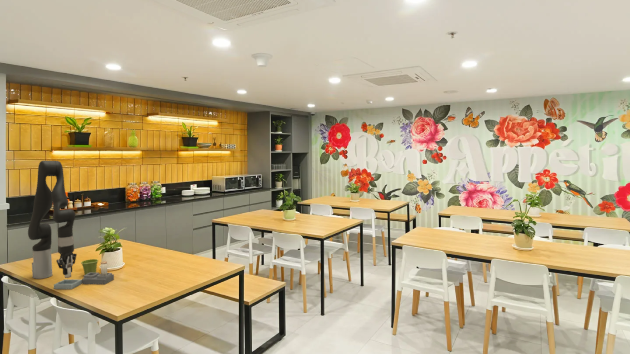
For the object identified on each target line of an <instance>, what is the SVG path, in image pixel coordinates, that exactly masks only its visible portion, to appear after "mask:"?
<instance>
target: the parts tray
mask: <svg viewBox="0 0 630 354" xmlns="http://www.w3.org/2000/svg"><path fill="white" fill-rule="evenodd" d="M81 285H83V284H82V279H69V278H64V279H63V280H61V281H57V283H54V284H53V290H73V289H75V288H77V287H79V286H81Z"/></svg>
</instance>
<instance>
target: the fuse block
mask: <svg viewBox="0 0 630 354" xmlns="http://www.w3.org/2000/svg"><path fill="white" fill-rule="evenodd" d="M114 279H115V274H113V272H107V275H106V276H101V273H99V272H96V273H88V274H86V275H85V274H84V275H83V278H82V279H81V280H82V284H81V285H107V284H108V283H110V282H112V281H113V280H114Z"/></svg>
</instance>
